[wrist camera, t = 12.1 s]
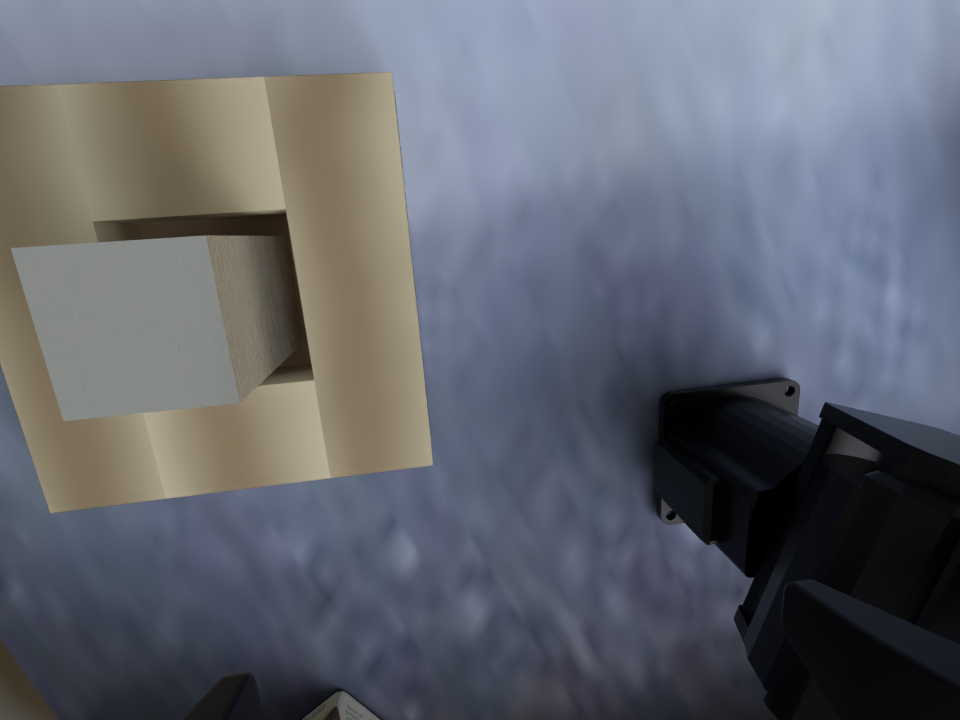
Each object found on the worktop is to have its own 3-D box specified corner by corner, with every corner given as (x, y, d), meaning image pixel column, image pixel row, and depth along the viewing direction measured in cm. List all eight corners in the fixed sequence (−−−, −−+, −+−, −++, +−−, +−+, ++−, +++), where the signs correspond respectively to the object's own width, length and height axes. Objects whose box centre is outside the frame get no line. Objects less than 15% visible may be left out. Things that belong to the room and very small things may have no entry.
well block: (395, 99, 17) (391, 71, 15) (430, 433, 21) (432, 465, 18) (-1, 116, 16) (-92, 89, 13) (104, 471, 19) (50, 513, 16)
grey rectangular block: (285, 236, 18) (205, 235, 11) (302, 343, 19) (239, 403, 12) (168, 243, 17) (10, 248, 10) (193, 353, 18) (63, 421, 11)
